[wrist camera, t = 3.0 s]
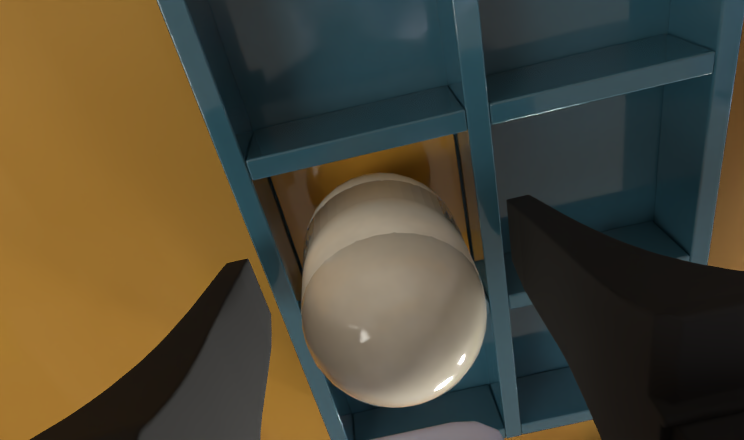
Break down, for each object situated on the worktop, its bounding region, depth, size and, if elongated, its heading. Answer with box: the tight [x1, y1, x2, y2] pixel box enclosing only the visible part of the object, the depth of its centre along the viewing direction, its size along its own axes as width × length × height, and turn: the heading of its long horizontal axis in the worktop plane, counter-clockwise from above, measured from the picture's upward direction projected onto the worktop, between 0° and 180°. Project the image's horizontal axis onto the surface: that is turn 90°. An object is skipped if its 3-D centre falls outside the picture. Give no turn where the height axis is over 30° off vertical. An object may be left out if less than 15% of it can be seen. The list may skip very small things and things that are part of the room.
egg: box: [301, 172, 487, 408], centre depth 14 cm, size 4×4×7 cm
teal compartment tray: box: [157, 0, 744, 440], centre depth 16 cm, size 13×20×3 cm
